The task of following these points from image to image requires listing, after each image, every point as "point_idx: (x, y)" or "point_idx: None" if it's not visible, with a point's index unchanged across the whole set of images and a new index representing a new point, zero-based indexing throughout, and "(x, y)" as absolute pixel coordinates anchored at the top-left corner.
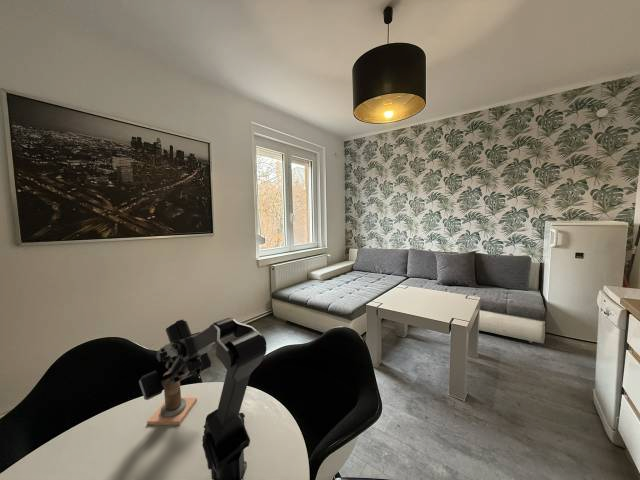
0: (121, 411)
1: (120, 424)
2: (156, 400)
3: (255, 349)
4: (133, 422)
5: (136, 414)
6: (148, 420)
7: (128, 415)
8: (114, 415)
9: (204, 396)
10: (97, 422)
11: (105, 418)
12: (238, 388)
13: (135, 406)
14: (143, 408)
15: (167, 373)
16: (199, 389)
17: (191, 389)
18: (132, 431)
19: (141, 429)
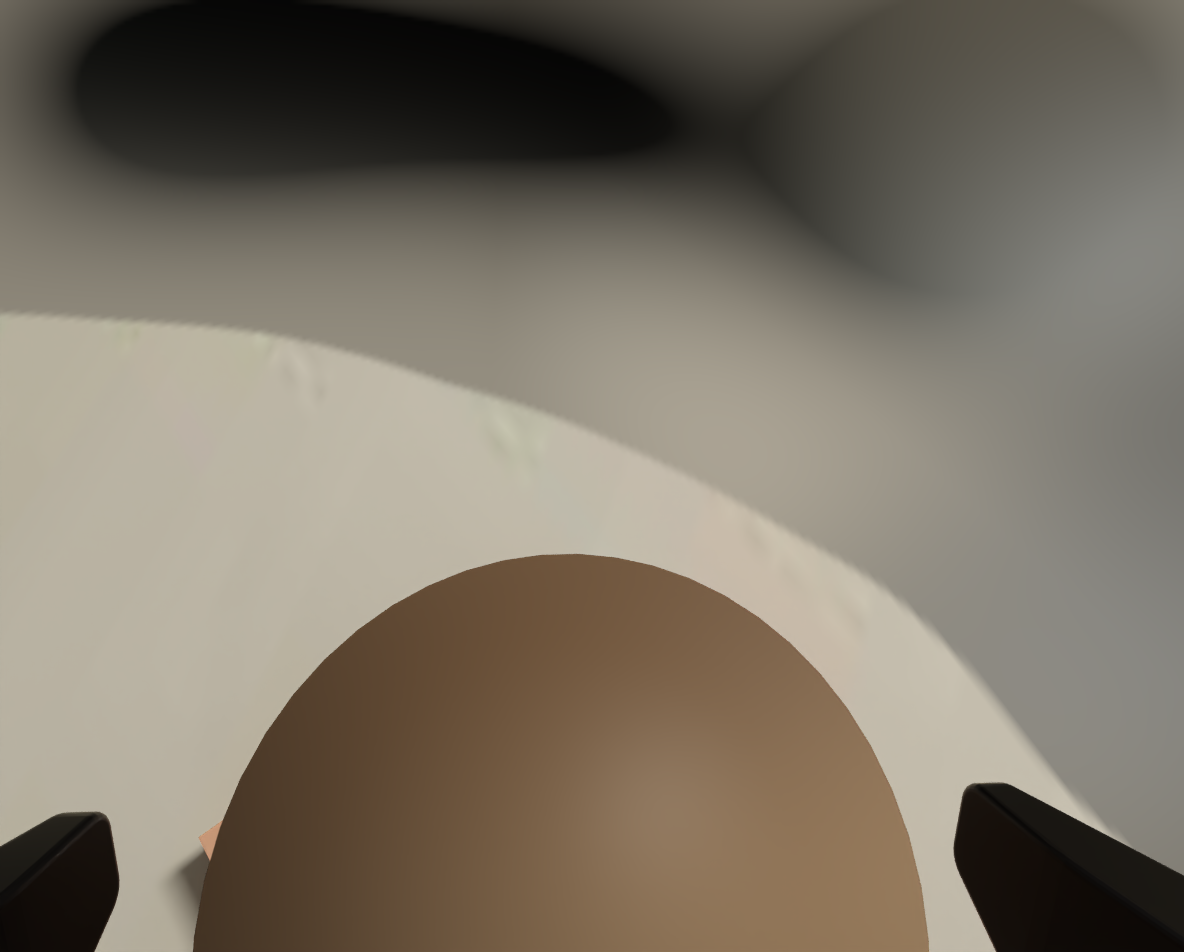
0: (202, 364)
1: (75, 554)
2: (494, 471)
3: None
4: (160, 642)
5: (253, 529)
6: (217, 835)
7: (202, 477)
8: (135, 370)
9: (978, 930)
10: (3, 346)
11: (70, 348)
12: None
13: (316, 395)
14: (346, 491)
15: (463, 712)
16: (947, 696)
17: (860, 607)
18: (54, 810)
19: (126, 876)
